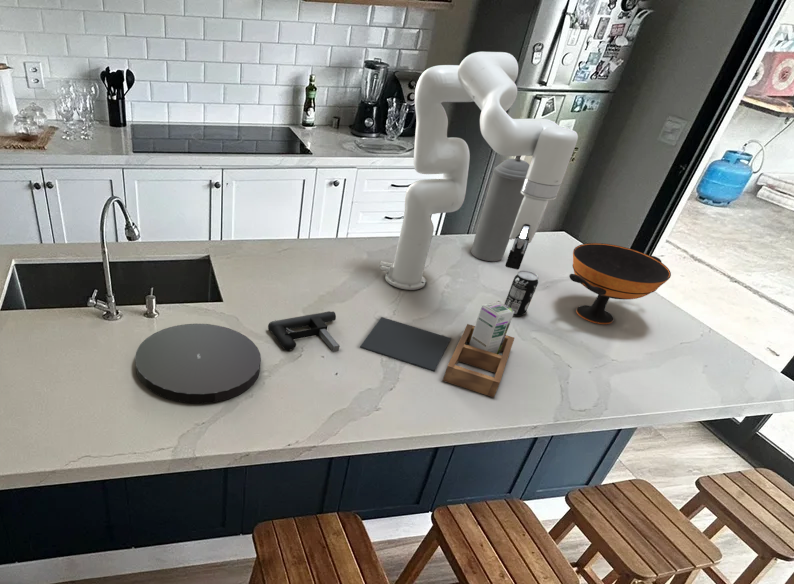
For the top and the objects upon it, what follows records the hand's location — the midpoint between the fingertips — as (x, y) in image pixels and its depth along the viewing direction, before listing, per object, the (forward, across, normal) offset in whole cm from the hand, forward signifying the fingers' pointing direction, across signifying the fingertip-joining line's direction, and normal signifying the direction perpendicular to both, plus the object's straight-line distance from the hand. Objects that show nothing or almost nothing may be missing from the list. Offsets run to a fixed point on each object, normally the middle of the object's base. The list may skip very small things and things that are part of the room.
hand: (514, 260), depth 138 cm
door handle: (+26, +20, -42) cm, 53 cm away
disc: (+26, +47, -60) cm, 81 cm away
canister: (+25, -65, -10) cm, 70 cm away
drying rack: (+26, +8, 0) cm, 27 cm away
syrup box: (+26, +3, 0) cm, 26 cm away
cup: (+26, -40, +26) cm, 54 cm away
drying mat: (+26, +8, -19) cm, 33 cm away
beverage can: (+26, -28, +4) cm, 38 cm away
